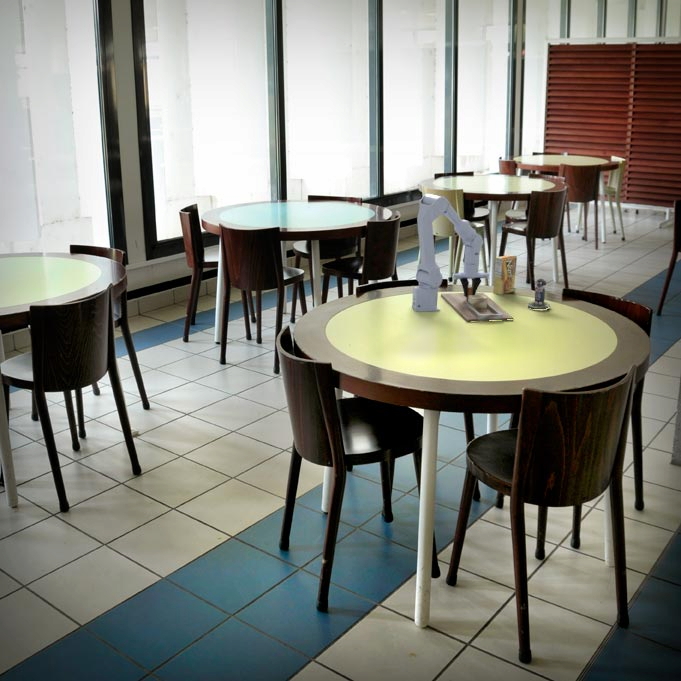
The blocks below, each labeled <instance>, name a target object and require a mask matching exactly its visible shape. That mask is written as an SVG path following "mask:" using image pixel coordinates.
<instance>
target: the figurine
mask: <svg viewBox="0 0 681 681" xmlns="http://www.w3.org/2000/svg"><path fill="white" fill-rule="evenodd" d="M546 285H547V281H546V280H545V279H543V278H539V279H537V280H536V284H535V290H534V292H535V293H534V301H532V302H529V303H528V304H527V309H529V308H531V309H546V308H548V307H550V308H551V304H550V303H548V302H547V301H545V298H546ZM531 309H530V310H531Z"/></svg>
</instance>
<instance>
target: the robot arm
mask: <svg viewBox="0 0 681 681" xmlns="http://www.w3.org/2000/svg"><path fill="white" fill-rule="evenodd" d="M442 215H444V216H445V218H447V219H448V221H449V222H451V223H452V224H453V226H454V227H453V229H454V232H455V233H456V234H457V235H458V236H459V237H460V238H461V241H462V242H461V243H462V245H464V260H463V261H464V263H463V272H459V273H452V278H451V279H453V280H454V281H455V280H460V281H459V282H460V283H461V286H462V289H463V293H464V296H465V297H467V296H468V287H469V284H470V282H469V280H471V287H473V295H475V293H477V290H478V288H479V286H480V284H481V283H482V279H486V280H487V279H490V274H489V273H488V272H479V265H480V253H481V251H482V250H481V248H482V246H483V245H484V243H485V242H484V240H483V237H482V235H481V234H479V233H477V232H476V231H477V230H476V229H475V228H473V227H472V226H471V224H470V221H469V220H466V219H462V218H461V217H460V215H459V214H458V213H457V211H456V210H455V209H454V207H453V206H452V204H451V202H450V201H449V200H448V198H446V197H445V196H441V195H435V194H432V193H430V192H429V193H425V194H424V195H423V196H422V198H421V199H420V200H419V209H418V214H417V218H416V220H417V221H416V222H417V233H418V242H419V243H418V245H419V253H420V254H419V255H420V256H419V257H420V263H419V264H418V265H417V266H416V267H417V269H416V270H417V271H416V274H415V278H416V281H417V282H418V286H414V287H413V289H412V301H411V302H412V303H411V307H412V309H414V310H415V311H416V312H437V311H438V312H440V311H441V308H439V307H438V294H439V292H438V291H439V288H440V287H441V285H442V282H443V280H444V279H443V275H442V273H441V271H440V268H441V267H439V265H438V263H437V262H436V254H435V240H434V230H433V228H434V227H433V222H434V221H435V220H436V219H438V218H439V217H441V216H442ZM468 279H469V280H468Z"/></svg>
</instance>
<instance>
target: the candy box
mask: <svg viewBox="0 0 681 681" xmlns="http://www.w3.org/2000/svg"><path fill="white" fill-rule="evenodd" d="M517 259H518V257H517V256H516V255H512V254H506V255H503V256H501V255H500V256H496V257H495V266H494V276H493V277H494V281H493V291H492V293H493V294H497V295H500V296H501V295H504V294H509V293H512V292H514V291H515V282H516V281H515V280H516V272H517V271H516V270H517ZM509 288H514V289H509ZM513 290H514V291H513Z"/></svg>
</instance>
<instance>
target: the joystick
mask: <svg viewBox="0 0 681 681" xmlns="http://www.w3.org/2000/svg"><path fill="white" fill-rule="evenodd" d="M466 300H468V303H469V304H470V305H471V306H472V307H473V308H474V309H478V308H487V297H485V296H484V295H473V287H472V286H468V296H467V297H466Z"/></svg>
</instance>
